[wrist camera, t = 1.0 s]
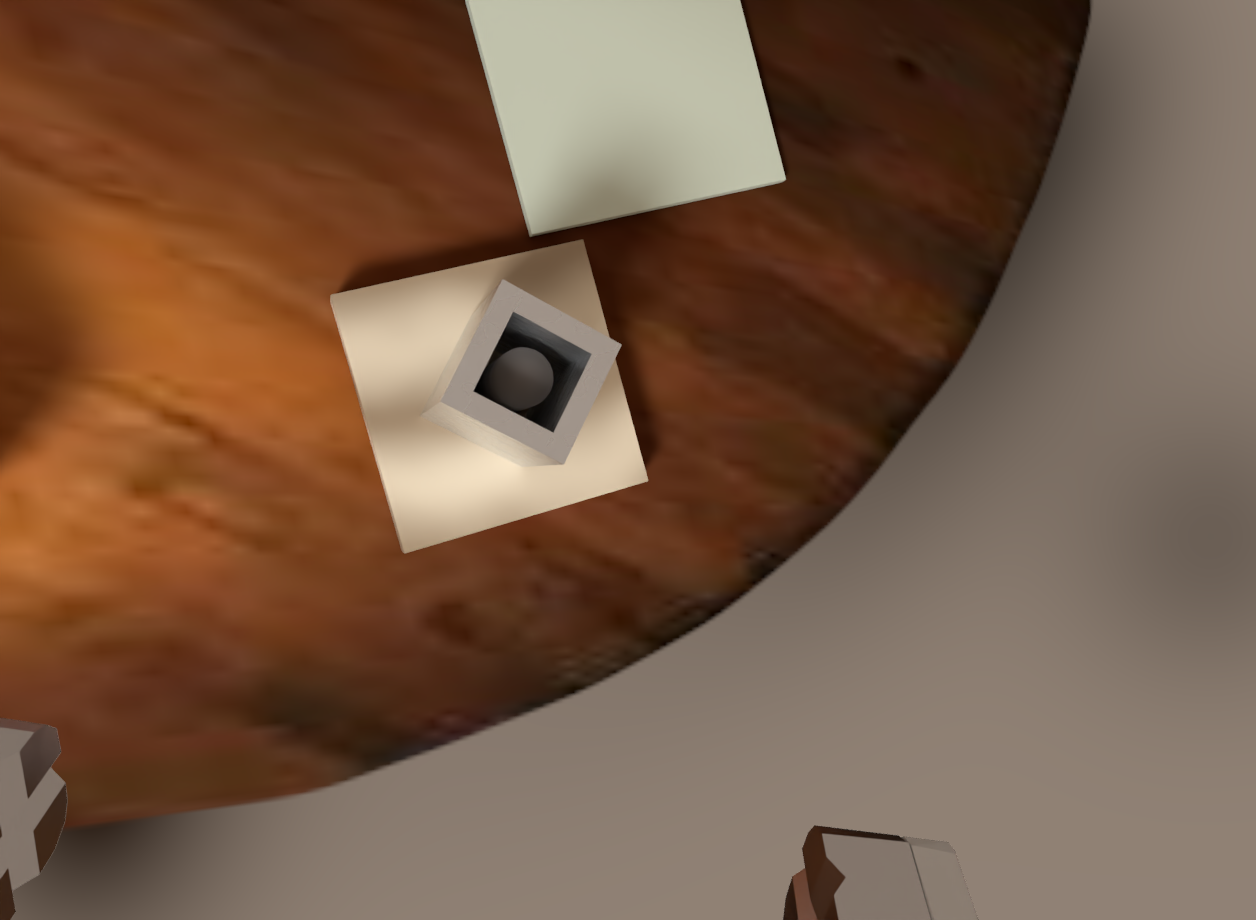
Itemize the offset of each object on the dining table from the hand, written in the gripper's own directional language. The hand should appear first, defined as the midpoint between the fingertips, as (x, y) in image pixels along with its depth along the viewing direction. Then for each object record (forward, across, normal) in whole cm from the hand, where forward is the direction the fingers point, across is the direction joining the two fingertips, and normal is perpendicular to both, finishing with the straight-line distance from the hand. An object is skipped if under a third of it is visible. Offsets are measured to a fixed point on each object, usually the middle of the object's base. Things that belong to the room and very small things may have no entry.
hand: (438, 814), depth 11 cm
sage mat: (+46, -1, -2) cm, 46 cm away
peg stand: (+36, +3, +12) cm, 38 cm away
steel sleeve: (+35, +3, +11) cm, 37 cm away
